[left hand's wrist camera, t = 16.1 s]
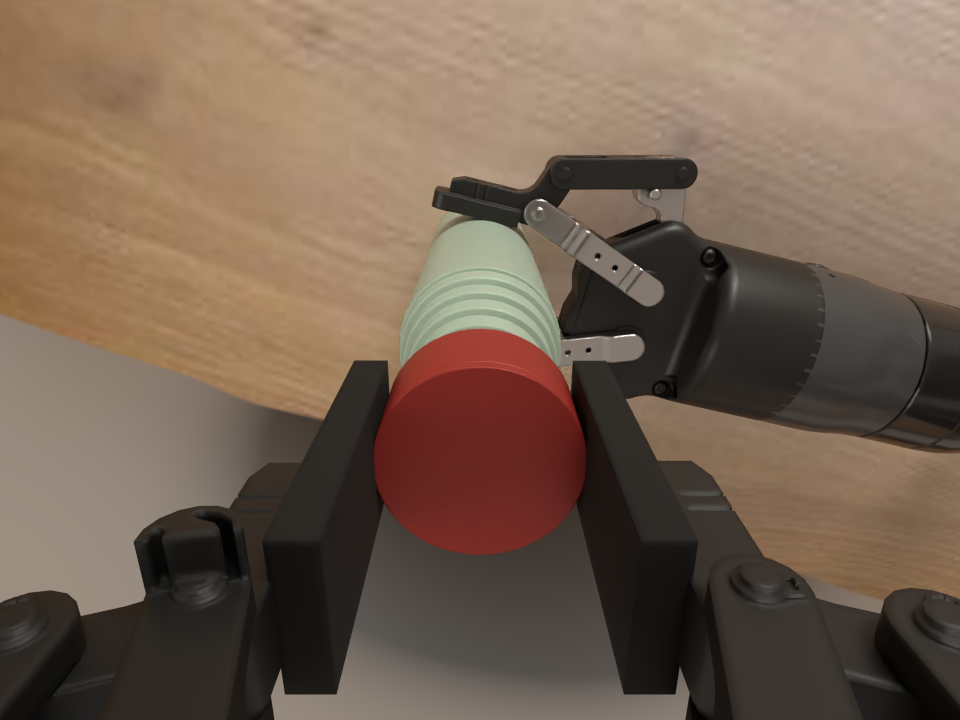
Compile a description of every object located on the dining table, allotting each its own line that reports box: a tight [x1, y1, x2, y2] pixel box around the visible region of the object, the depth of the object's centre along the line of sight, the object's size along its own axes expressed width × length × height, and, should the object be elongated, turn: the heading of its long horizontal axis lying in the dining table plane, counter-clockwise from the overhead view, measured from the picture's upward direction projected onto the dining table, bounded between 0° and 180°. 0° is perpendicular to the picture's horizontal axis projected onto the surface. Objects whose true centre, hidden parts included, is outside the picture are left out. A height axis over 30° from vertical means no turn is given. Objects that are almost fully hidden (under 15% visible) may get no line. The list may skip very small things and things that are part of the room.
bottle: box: [399, 211, 561, 368], centre depth 24 cm, size 5×5×23 cm
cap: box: [374, 329, 587, 555], centre depth 14 cm, size 4×4×2 cm
